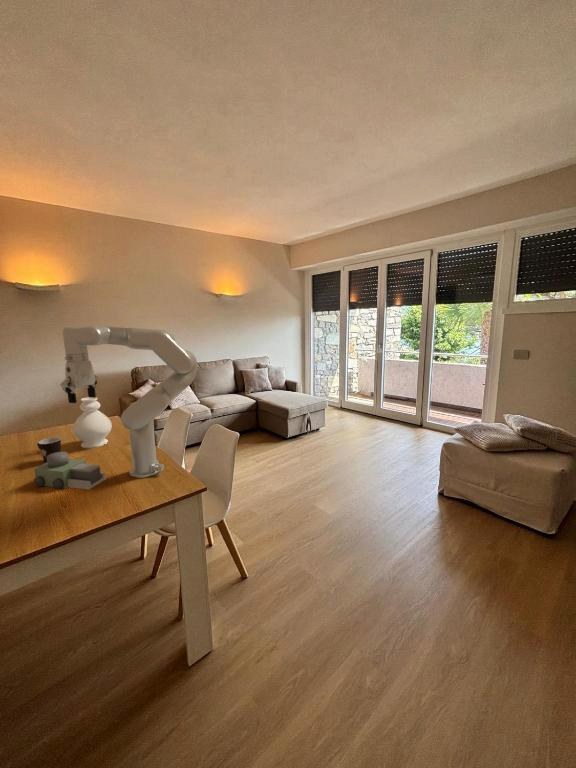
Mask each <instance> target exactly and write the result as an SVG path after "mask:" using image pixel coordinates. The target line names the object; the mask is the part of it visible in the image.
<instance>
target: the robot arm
mask: <svg viewBox="0 0 576 768" xmlns="http://www.w3.org/2000/svg"><path fill="white" fill-rule="evenodd" d="M62 337H63V344H64V345H63V346H64V353H65V357H64V360H65V361H66V362H65V369H64V370H65V373H64V374H65V378H64V380H63V381H62V382H60V384H59V385H60V387H61V389H62V390H63V391H64V392H65V393H66V394H67V400H68V403H69V404H77V403H78V402H77V394H76V392H75V391H76V389H79V388H83V387H84V388H85V387H87V389H86V390H87V397H97V396H96V395H97V393H96V387H97V384H98V379H99V376H98V375H95V371H94V367H93V365H92V362H91V360H89V352H88V346H95V347H96V346H100V345H115V346H123V347H127V348H129V349H133V350H144V351H145V350H147V351H153V353H154V354H155V355H156V356H157V357H158V358H159V359H160V360H162V361H163V363H165V365H167V366H168V367H169V368H170V369H171V370H172V371H173V372H172V373H171V374H170V375H169V376H167V377H166V378H165V379H164V380H162V382H160V383H158V384H157V385H156V386H154V387H152V388H151V389H150V390H148V391H147V392H146V393H144V394H143V395H142V396H141V397H139V398H138V399H137V400H136V401H134V402H133V403H131V404H130V405H128V407H127V408H126V409H125V410H124V411H122V414H121V416H120V422H121V425H122V426H123V427H124V428H125V429H127V430H129V441H130V449H131V459H132V468H131V469H130V470H129V476H130V477H133V478H137V479H142V478H147V477H152V476H154V475H156V474H159V472H160V471H164V467H165V464H164V463H159V461H160V460H159V459H157V453H156V451H157V450H156V438H155V425H154V424H155V423H154V421H155V420H154V419H156V417H158V416H159V415H160V414H161V413H163V412H164V411H165V410H166V409H167V407H168V406H169V405H170V403H171V402H172V401H173V400H175V398H177V397H178V396H179V395H181V394H182V393H183V392H184V391H185V390H186V389H188V387H189V386H190V385H191V384H192V383H193V382H194V380H195V378H196V376H197V373H198V360H197V358H196V356H195V354H194V353H193V352H192V351H189V350H184V349H182V348H181V347H180V346H179V345H178V344H177V343H176V342H175V337H174V335H173V333H172V332H170V331H168V330H166V329H154V328H153V329H152V328H141V327H119V326H109V325H107V326H106V325H91V326H84V327H83V326H65V327H63V328H62Z"/></svg>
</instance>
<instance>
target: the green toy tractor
mask: <svg viewBox="0 0 576 768" xmlns="http://www.w3.org/2000/svg"><path fill="white" fill-rule="evenodd" d="M81 463H83V464H87V460H86V459H77V458H69V455H68V452H66V451H61V452H56V453H52V454H50V455H48V456H47V463H43V464H40V465H39V466H37V467H34V468H33V472H34V477H35V478H34V479H33V483H34V485H35V486H36V487H38V486H39V487H38V488H40V487H43V485H44V486H45V487H52V488H54V489H55V490H60V489H66V488H71V489H80V490H86V491H87V490H89V491H90V490H91V489H93V488H94V487H95V486H97V485H99V484H100V483H102V482H103V481H105V480H107V477H106V472H101V471H100V473H101V479H100V480H98V481H97V482H95V483H94V484H92V485H91V481H85V480H77V479H72V474H71V468H73V467H75V466H77V465H79V464H81Z"/></svg>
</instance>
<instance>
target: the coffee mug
mask: <svg viewBox="0 0 576 768" xmlns="http://www.w3.org/2000/svg"><path fill="white" fill-rule="evenodd" d="M61 441H62V438H61V437H56V436H55V437H49V438H43V439H41V440H39V441H38V442H37V448H38V449H39V450H40V453H41V455H42V459H43V462H44V463H43V464H45V463H47V456H48V455H50V454H52V453H56V452H62V448H61V447H62V442H61Z"/></svg>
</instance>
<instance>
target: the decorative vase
mask: <svg viewBox="0 0 576 768" xmlns="http://www.w3.org/2000/svg"><path fill="white" fill-rule="evenodd" d="M80 402H82V403H81V404H79V409H80V411H83V412H82V413H81V414H80V415H79V416H78V418H77V419H76V420H75V422H74V423H73V427H72V432H73V435H74V436H75V437H77V438H78V439H79V440H80V441H81V442H82V443H81V444H80V447H81V448H83V449H92V448H94V449H95V448H99V447H102V446H104V444H105V445H106V444H108V443H107V442H109V440H108V439H107V438H106V437H108V435H109V433H110V432H111V430H112V428H113V427H112V425H113V424H112V421H111V420H110V418H109V417H108V416H107V415H106V414H104V413H103V412H102V411H100V410H99V409H100V408H101V403H100V402H99V401H98V397H97V396H96V397H88V396H87V397H82V398H80Z"/></svg>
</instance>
